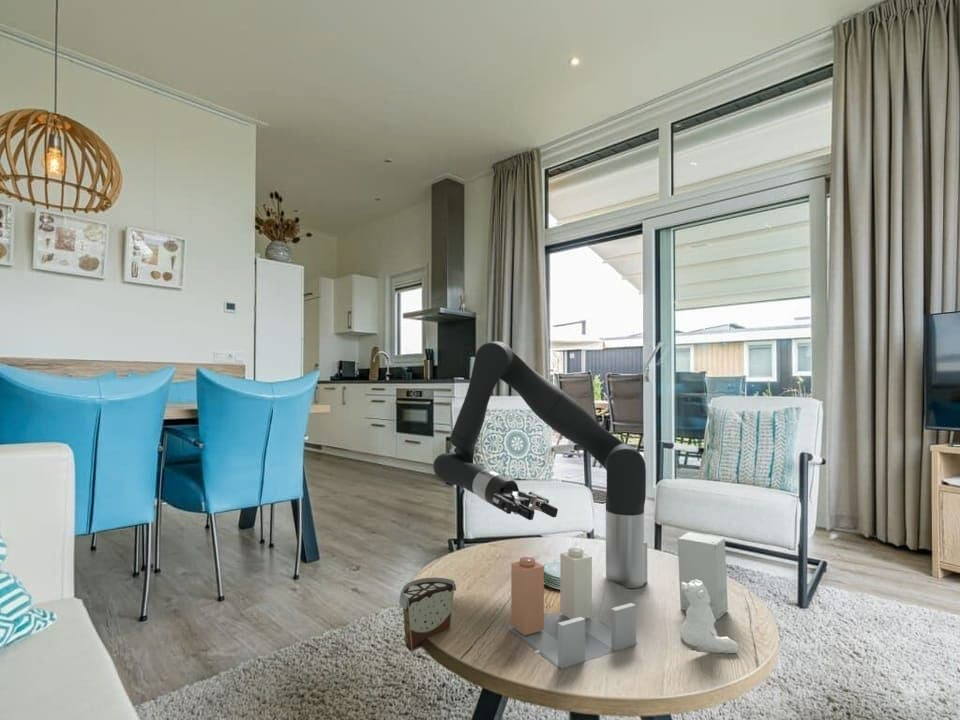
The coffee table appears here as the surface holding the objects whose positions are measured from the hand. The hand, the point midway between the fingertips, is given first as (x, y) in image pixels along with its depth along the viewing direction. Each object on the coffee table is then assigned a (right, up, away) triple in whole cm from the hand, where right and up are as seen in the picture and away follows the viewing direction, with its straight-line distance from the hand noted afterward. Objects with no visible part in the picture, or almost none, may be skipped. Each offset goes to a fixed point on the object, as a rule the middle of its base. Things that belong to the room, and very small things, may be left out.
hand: (544, 514), depth 117 cm
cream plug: (+5, -18, -11) cm, 21 cm away
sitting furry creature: (+27, -19, -20) cm, 39 cm away
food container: (-26, -19, -17) cm, 36 cm away
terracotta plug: (-5, -17, -17) cm, 25 cm away
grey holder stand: (+2, -18, -19) cm, 26 cm away
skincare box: (+34, -19, -5) cm, 39 cm away
